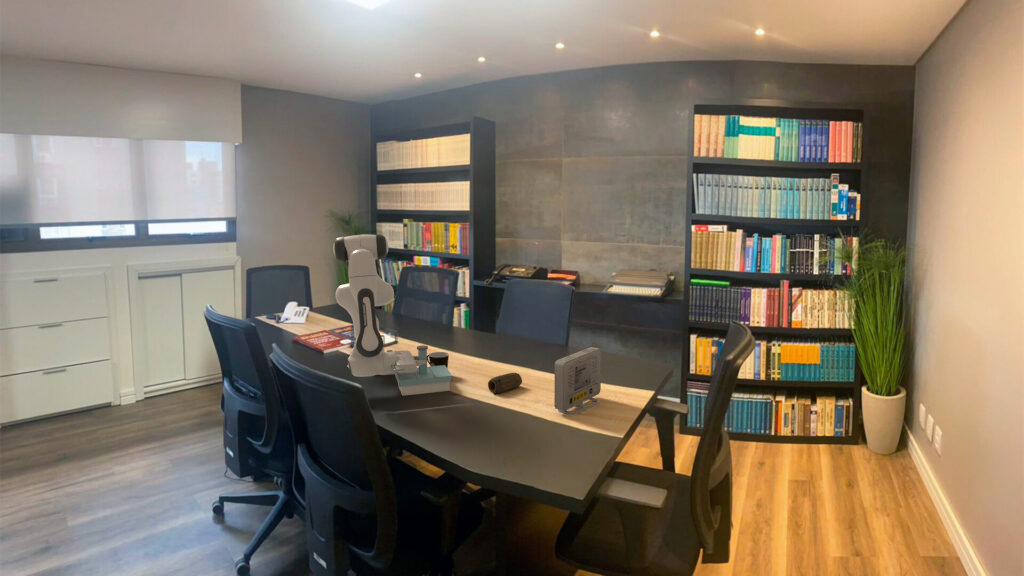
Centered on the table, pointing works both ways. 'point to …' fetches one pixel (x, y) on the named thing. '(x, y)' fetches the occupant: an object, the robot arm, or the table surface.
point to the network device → (577, 380)
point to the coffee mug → (438, 359)
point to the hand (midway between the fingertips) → (424, 360)
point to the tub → (424, 388)
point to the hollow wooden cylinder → (504, 382)
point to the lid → (424, 372)
